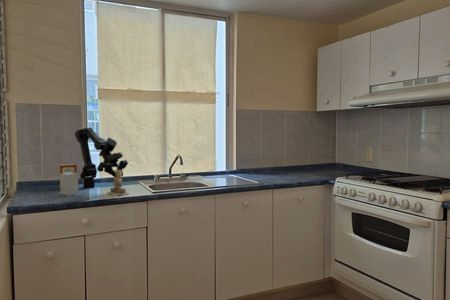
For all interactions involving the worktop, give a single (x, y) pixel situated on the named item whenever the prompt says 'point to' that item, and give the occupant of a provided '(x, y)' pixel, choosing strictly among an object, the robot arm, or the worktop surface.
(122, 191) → the balance ridge
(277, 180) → the worktop surface
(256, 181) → the worktop surface
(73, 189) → the supplement box
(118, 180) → the beech dowel
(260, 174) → the worktop surface
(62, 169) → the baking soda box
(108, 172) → the robot arm
